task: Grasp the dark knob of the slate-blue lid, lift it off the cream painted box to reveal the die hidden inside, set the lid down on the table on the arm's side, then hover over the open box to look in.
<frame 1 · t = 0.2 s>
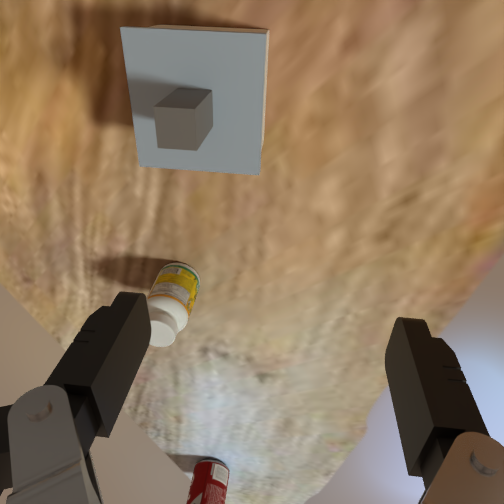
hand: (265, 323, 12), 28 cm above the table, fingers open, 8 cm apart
supplement bottle: (180, 277, 48), on the table
soda can: (213, 464, 74), on the table
box: (215, 86, 35), on the table
lid: (198, 105, 29), point 7 cm above the table, touching box
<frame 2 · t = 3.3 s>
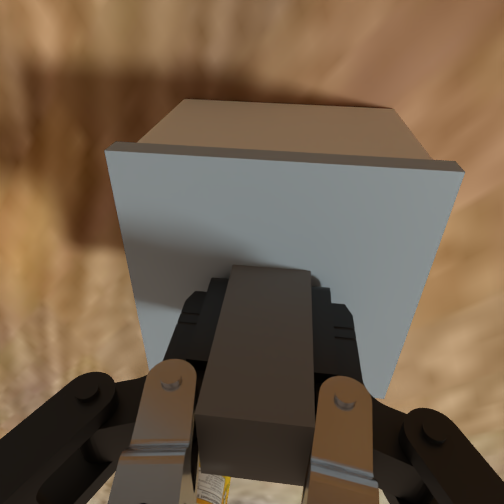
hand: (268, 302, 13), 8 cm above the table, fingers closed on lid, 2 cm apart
supplement bottle: (207, 430, 33), on the table
box: (280, 198, 20), on the table
lid: (271, 282, 14), point 7 cm above the table, touching box, gripper
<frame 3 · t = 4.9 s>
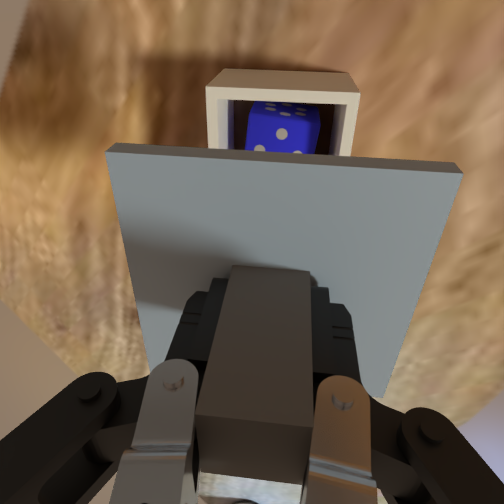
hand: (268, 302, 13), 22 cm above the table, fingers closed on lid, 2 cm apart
die: (282, 131, 32), resting in box
box: (282, 132, 32), on the table
lid: (270, 283, 14), point 21 cm above the table, touching gripper
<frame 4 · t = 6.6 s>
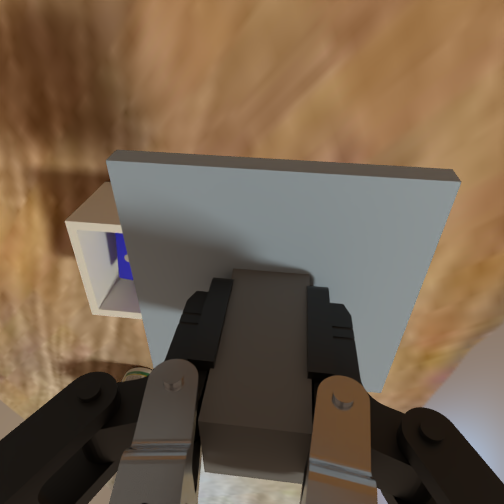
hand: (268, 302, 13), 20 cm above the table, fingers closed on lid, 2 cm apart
die: (164, 229, 36), resting in box
box: (163, 231, 36), on the table
lid: (271, 284, 14), point 19 cm above the table, touching gripper
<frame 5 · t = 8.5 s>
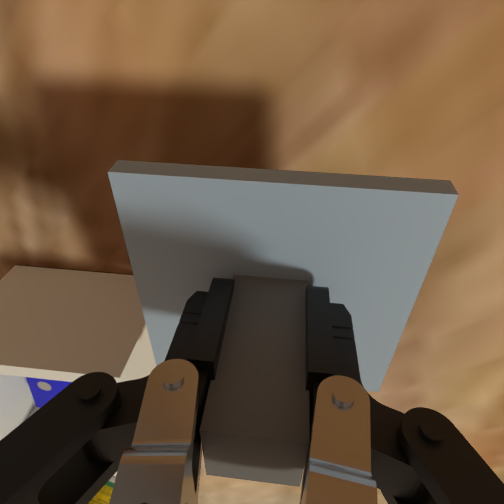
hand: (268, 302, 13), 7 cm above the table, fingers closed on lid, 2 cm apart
supplement bottle: (104, 479, 39), on the table
die: (107, 323, 26), resting in box
box: (105, 327, 25), on the table
lid: (271, 288, 15), point 6 cm above the table, touching gripper
when the fingers open (3 cm above the table, at t = 10.2 s): lid drops 2 cm, on the table.
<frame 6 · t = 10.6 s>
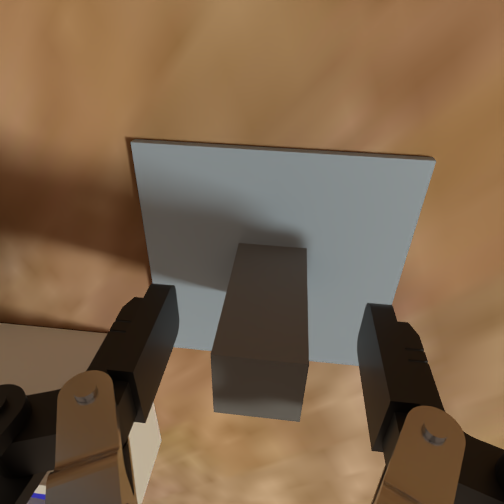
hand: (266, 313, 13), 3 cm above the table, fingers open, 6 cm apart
box: (72, 386, 22), on the table
lid: (272, 261, 16), on the table
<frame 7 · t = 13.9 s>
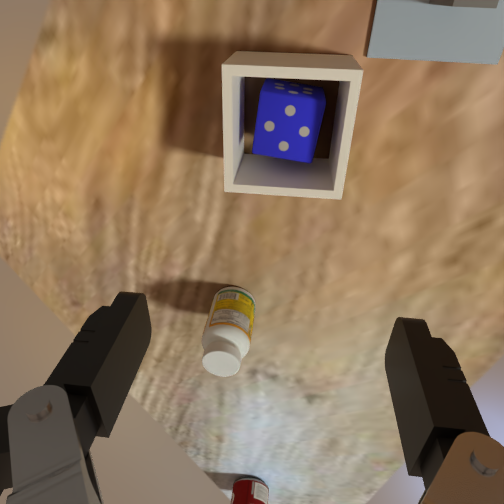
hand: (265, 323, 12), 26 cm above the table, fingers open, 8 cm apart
supplement bottle: (234, 300, 47), on the table
die: (289, 111, 34), resting in box
soda can: (251, 482, 73), on the table
box: (289, 112, 34), on the table
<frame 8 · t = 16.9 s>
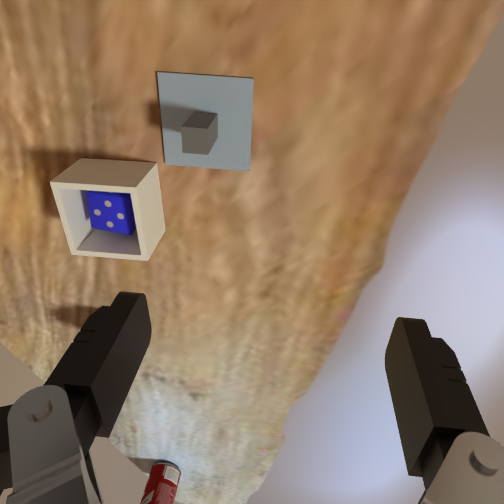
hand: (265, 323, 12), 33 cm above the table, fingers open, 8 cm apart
die: (126, 194, 49), resting in box
soda can: (167, 466, 88), on the table
box: (125, 195, 48), on the table
lid: (207, 122, 43), on the table
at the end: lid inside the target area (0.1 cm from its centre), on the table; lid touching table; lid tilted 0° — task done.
